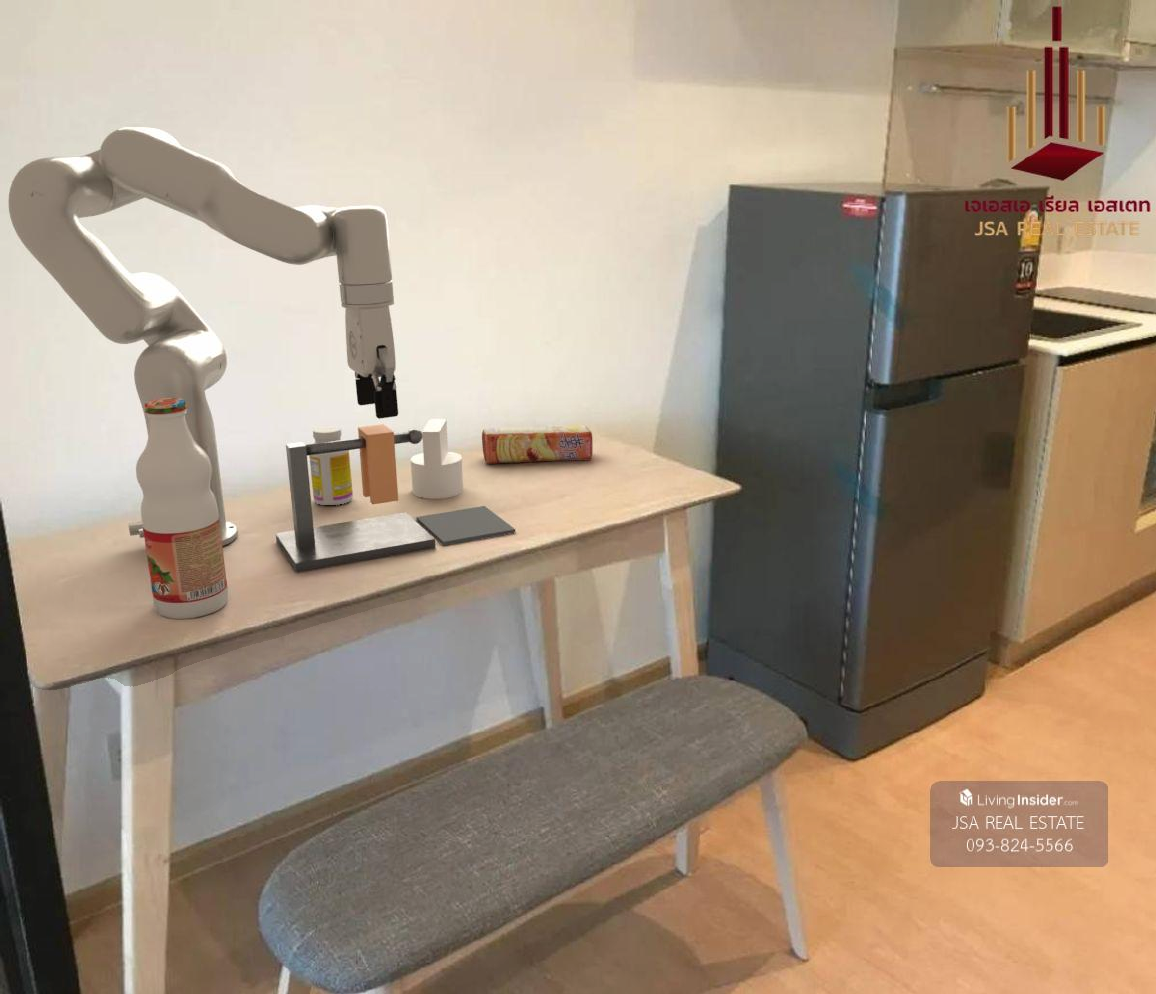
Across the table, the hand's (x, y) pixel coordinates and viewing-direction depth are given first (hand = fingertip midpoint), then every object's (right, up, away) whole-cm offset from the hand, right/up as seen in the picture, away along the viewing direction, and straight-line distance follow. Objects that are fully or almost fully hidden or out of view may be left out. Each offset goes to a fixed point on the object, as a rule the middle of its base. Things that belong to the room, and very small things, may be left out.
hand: (377, 410), depth 159 cm
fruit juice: (-22, -28, -16) cm, 39 cm away
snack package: (+22, -6, +49) cm, 54 cm away
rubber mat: (+12, -18, +12) cm, 25 cm away
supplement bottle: (-12, -14, +25) cm, 31 cm away
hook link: (0, -13, +4) cm, 14 cm away
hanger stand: (-4, -20, +5) cm, 21 cm away
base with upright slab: (+5, -12, +30) cm, 33 cm away
